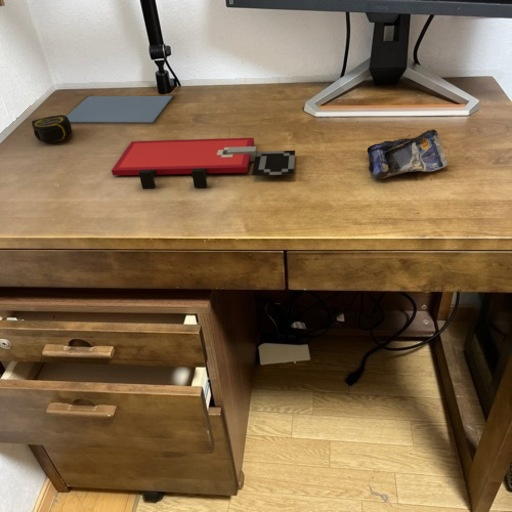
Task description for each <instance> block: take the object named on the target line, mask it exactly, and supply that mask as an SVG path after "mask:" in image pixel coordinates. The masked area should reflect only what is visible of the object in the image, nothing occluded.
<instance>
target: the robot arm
mask: <svg viewBox="0 0 512 512" xmlns="http://www.w3.org/2000/svg"><path fill="white" fill-rule="evenodd" d="M5 6H6V4H5V1H4V0H0V7H5Z"/></svg>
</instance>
